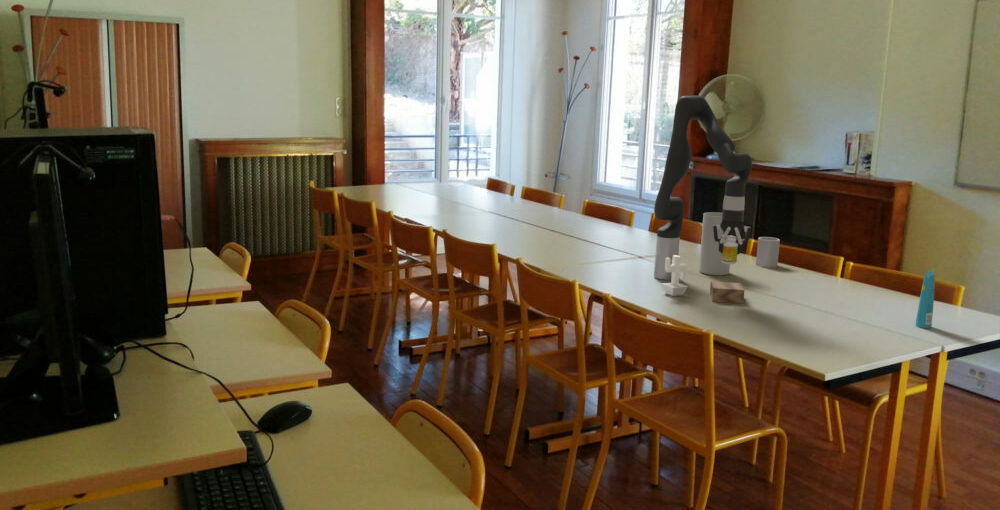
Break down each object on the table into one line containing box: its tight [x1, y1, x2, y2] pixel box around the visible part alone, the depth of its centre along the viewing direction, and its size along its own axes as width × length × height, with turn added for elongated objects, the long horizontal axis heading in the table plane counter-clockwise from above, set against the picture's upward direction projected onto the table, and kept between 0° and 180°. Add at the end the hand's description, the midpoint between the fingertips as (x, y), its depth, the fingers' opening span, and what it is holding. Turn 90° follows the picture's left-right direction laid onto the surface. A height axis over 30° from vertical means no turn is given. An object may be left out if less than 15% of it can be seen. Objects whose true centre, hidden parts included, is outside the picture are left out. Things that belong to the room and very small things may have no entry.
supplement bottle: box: [721, 236, 738, 265], centre depth 306 cm, size 5×5×10 cm
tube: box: [915, 269, 936, 329], centre depth 277 cm, size 7×5×19 cm, turn 140°
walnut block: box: [709, 281, 745, 304], centre depth 309 cm, size 11×11×5 cm
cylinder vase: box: [698, 211, 732, 277], centre depth 351 cm, size 12×12×25 cm
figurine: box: [661, 255, 689, 297], centre depth 313 cm, size 7×9×15 cm
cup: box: [755, 236, 781, 269], centre depth 370 cm, size 9×9×12 cm
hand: (729, 253), depth 306 cm, fingers closed on supplement bottle, 5 cm apart
